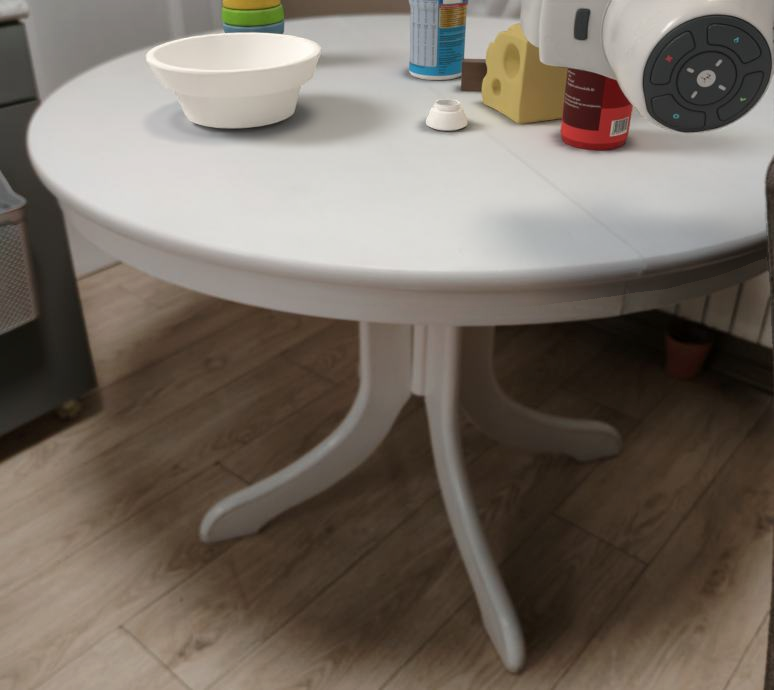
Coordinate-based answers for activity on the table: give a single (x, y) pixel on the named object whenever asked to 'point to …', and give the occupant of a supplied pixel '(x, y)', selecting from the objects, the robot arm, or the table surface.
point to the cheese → (522, 80)
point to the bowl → (236, 76)
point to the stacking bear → (253, 16)
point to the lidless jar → (446, 115)
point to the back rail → (473, 74)
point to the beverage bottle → (437, 38)
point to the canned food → (594, 112)
